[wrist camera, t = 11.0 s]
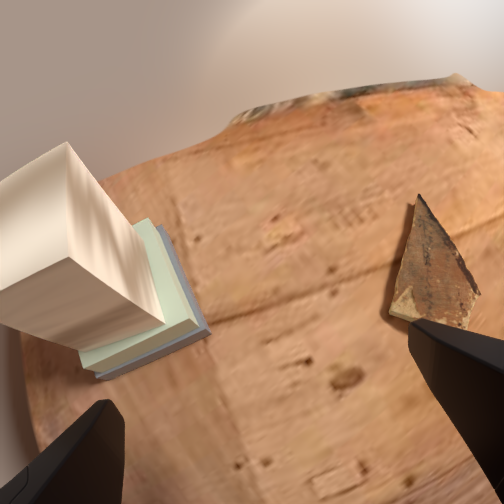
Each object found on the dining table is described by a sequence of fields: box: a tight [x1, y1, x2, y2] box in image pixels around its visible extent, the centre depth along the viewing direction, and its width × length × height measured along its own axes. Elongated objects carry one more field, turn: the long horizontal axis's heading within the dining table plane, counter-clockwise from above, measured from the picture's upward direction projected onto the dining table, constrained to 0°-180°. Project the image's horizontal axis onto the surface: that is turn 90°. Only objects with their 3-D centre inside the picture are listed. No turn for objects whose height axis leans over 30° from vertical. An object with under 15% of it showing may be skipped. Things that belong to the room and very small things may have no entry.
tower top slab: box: [78, 218, 199, 373], centre depth 21 cm, size 8×8×2 cm
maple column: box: [0, 141, 166, 352], centre depth 15 cm, size 6×6×10 cm
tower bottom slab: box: [94, 224, 212, 380], centre depth 23 cm, size 9×9×2 cm
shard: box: [389, 194, 481, 330], centre depth 22 cm, size 11×8×2 cm
